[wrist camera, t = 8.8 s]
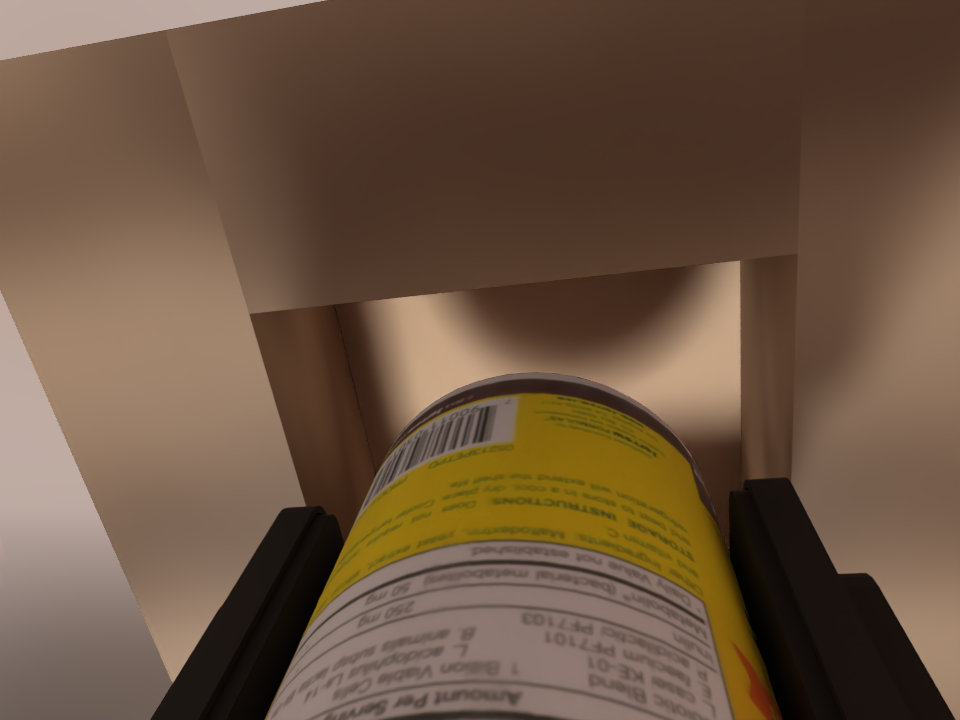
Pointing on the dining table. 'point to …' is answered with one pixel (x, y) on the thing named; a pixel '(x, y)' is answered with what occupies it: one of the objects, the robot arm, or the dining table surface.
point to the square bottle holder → (488, 249)
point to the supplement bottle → (532, 573)
